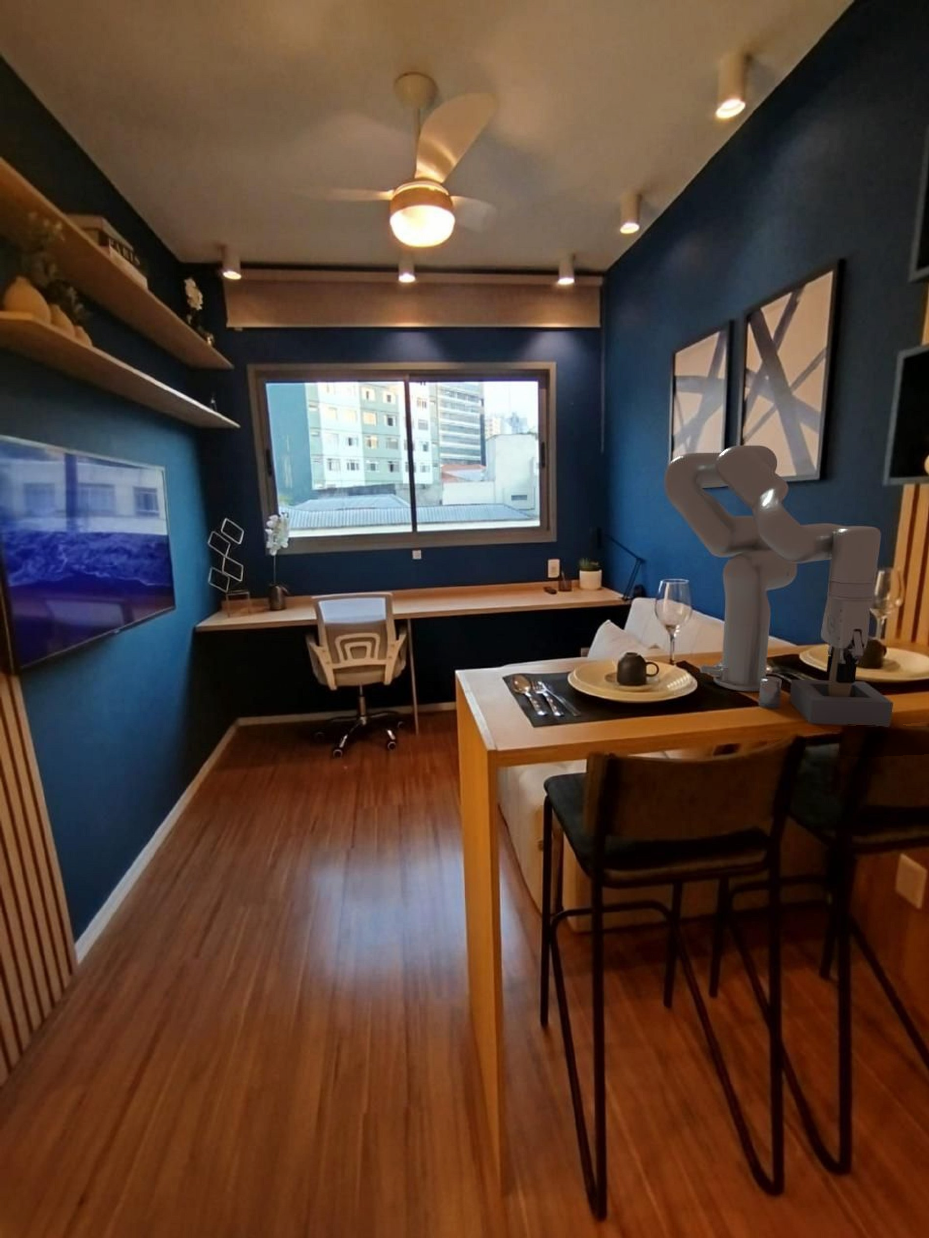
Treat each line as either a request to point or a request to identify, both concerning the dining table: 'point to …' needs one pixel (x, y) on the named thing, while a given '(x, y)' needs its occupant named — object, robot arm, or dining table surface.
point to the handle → (835, 687)
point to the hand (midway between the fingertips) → (840, 677)
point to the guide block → (840, 704)
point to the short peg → (769, 692)
